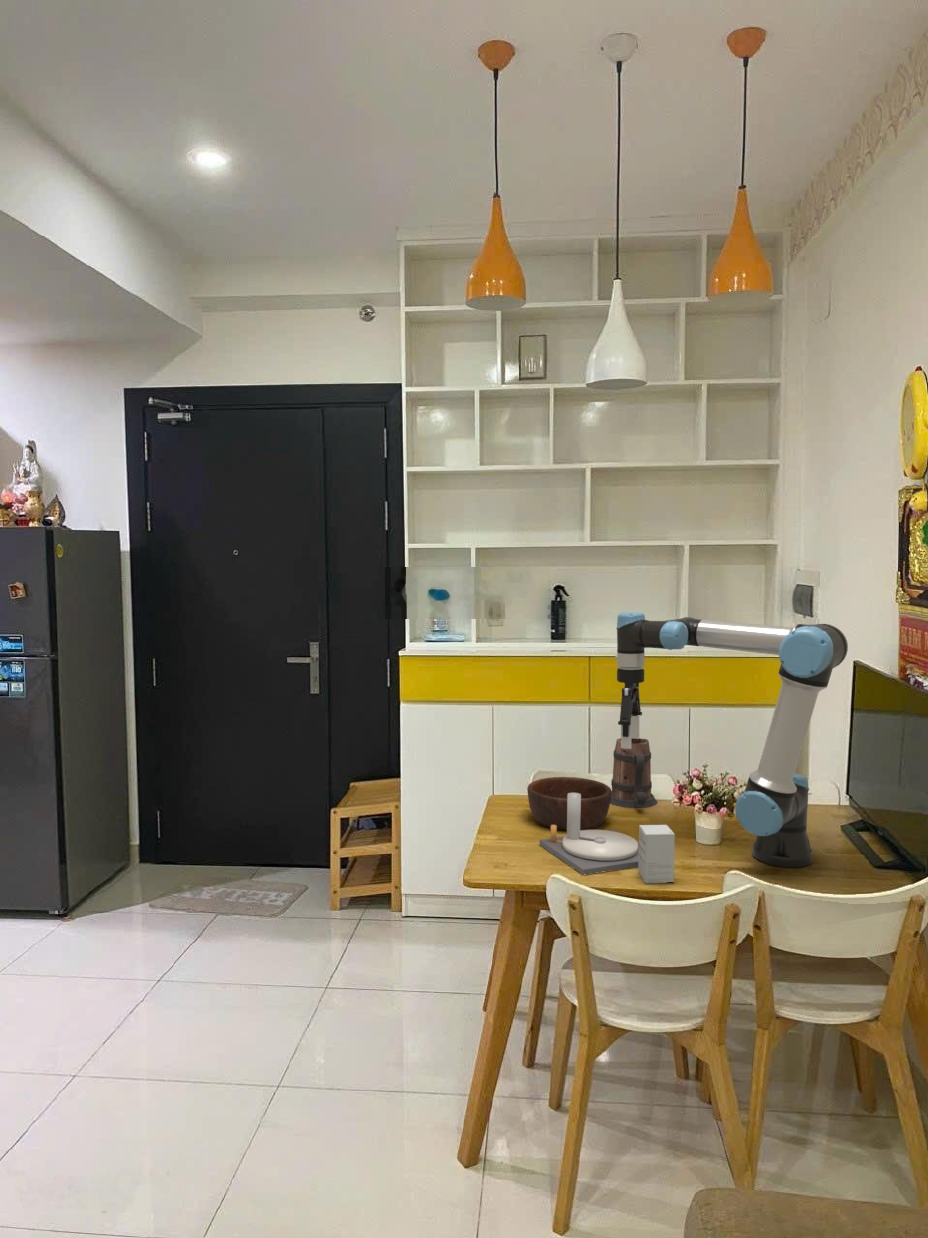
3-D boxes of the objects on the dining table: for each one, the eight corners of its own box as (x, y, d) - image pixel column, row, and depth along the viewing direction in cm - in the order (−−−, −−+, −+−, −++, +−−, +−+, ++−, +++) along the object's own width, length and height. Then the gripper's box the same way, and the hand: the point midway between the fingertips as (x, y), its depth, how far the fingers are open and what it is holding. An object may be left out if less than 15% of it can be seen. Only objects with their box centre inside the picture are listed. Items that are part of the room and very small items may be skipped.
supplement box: (666, 872, 225) (667, 824, 224) (674, 884, 217) (675, 833, 216) (637, 872, 224) (638, 824, 223) (644, 884, 217) (645, 834, 216)
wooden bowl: (617, 835, 253) (618, 800, 253) (530, 834, 253) (530, 799, 252) (603, 808, 278) (604, 776, 277) (523, 808, 278) (524, 776, 277)
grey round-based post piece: (645, 841, 242) (647, 793, 241) (626, 865, 224) (628, 813, 223) (575, 831, 251) (576, 784, 250) (552, 853, 233) (553, 803, 232)
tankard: (600, 793, 295) (601, 734, 293) (650, 793, 296) (652, 734, 294) (614, 815, 272) (615, 751, 270) (668, 815, 272) (670, 751, 271)
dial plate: (663, 863, 231) (664, 840, 231) (583, 875, 222) (583, 852, 222) (614, 834, 253) (614, 814, 253) (539, 845, 244) (539, 823, 244)
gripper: (624, 662, 259) (624, 733, 261) (608, 673, 236) (608, 751, 237) (650, 663, 257) (650, 735, 258) (636, 674, 233) (636, 753, 235)
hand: (630, 743), depth 248 cm, fingers open, 13 cm apart
